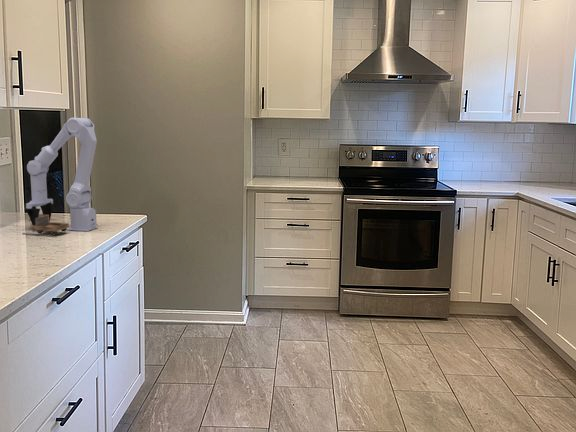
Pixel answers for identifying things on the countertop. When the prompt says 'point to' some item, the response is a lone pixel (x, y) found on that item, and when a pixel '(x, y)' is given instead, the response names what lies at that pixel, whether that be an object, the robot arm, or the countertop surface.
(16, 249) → the countertop surface
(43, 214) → the terracotta block
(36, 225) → the cart
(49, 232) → the rails
